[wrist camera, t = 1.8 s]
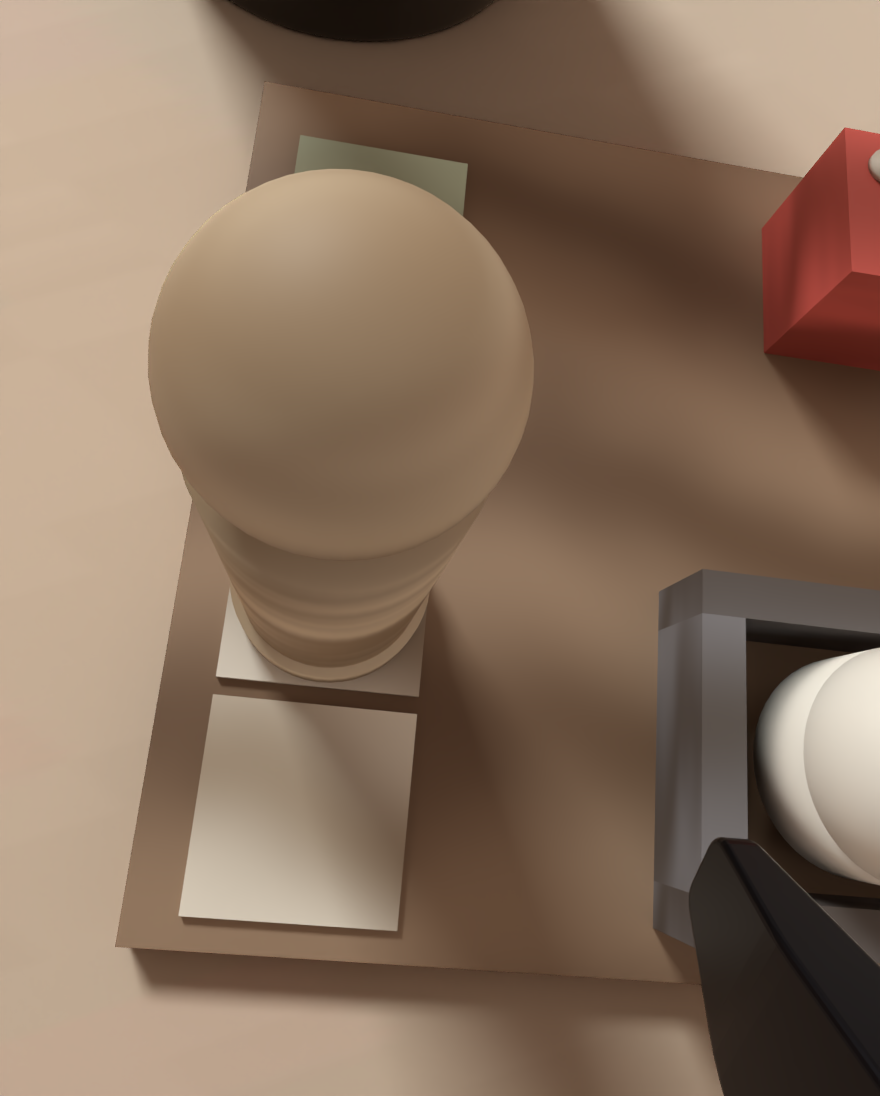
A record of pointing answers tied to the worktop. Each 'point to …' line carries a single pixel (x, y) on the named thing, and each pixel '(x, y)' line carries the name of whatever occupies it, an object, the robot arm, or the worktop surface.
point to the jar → (365, 16)
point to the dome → (825, 763)
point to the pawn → (338, 405)
